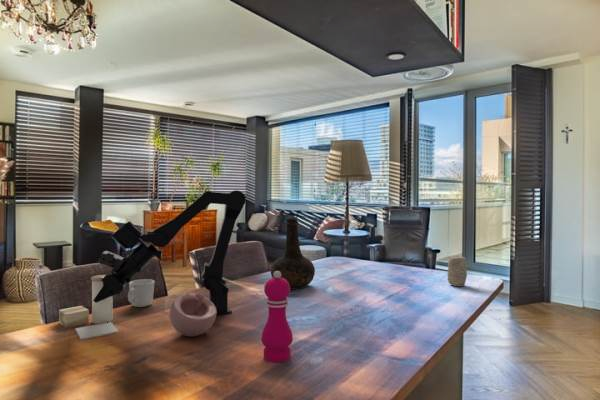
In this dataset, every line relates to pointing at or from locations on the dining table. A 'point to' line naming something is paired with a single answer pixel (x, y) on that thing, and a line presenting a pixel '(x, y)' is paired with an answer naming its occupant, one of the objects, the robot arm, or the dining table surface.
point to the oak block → (73, 316)
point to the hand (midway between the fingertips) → (97, 298)
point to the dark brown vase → (294, 260)
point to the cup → (141, 292)
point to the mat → (96, 330)
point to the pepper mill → (277, 320)
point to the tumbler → (100, 303)
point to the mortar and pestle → (192, 314)
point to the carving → (457, 270)
